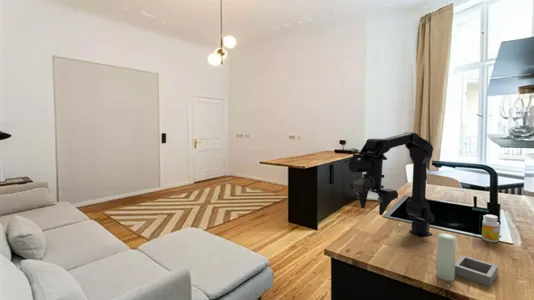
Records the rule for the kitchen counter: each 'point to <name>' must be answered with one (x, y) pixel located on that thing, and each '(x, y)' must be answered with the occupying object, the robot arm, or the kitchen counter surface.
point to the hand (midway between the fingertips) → (371, 211)
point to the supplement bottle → (490, 228)
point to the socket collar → (475, 275)
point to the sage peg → (446, 257)
